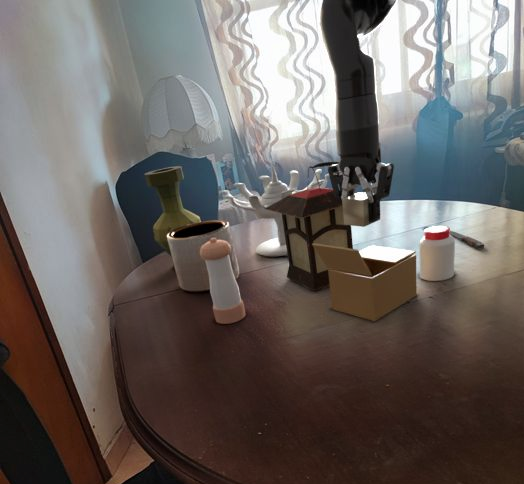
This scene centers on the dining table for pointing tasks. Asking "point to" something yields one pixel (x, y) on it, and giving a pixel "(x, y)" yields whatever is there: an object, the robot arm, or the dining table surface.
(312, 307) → the dining table surface
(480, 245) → the knife
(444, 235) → the pill bottle
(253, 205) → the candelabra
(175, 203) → the vase
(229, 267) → the pepper shaker
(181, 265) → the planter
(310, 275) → the lantern
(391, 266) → the carton
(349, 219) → the block
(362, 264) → the flap
